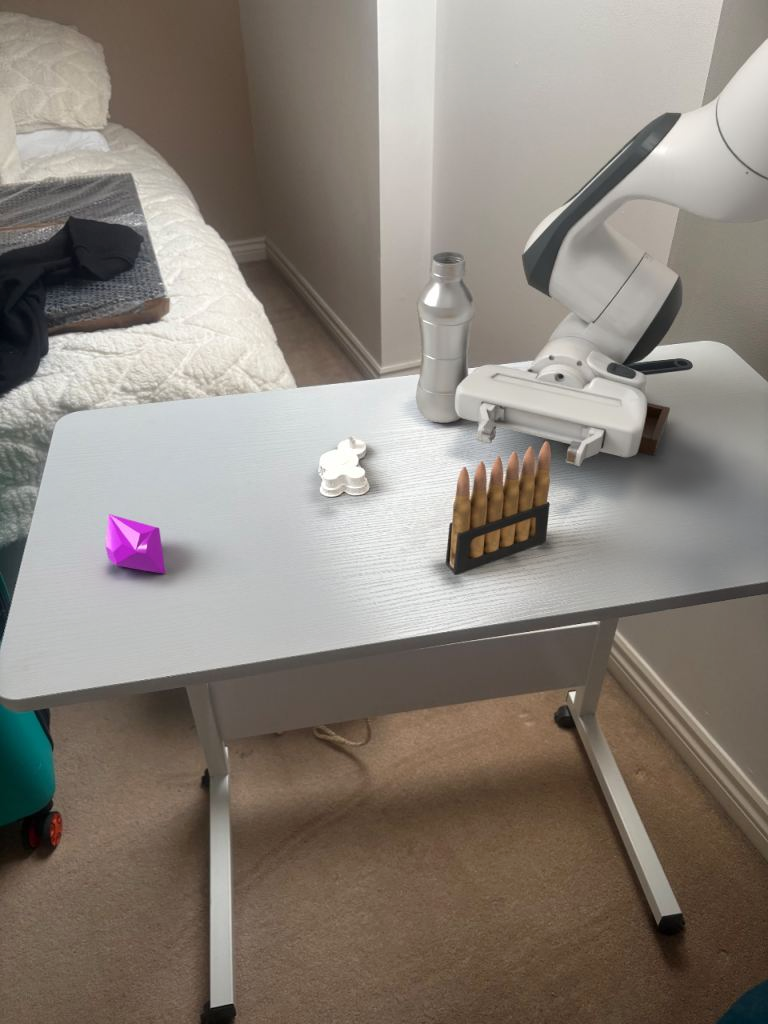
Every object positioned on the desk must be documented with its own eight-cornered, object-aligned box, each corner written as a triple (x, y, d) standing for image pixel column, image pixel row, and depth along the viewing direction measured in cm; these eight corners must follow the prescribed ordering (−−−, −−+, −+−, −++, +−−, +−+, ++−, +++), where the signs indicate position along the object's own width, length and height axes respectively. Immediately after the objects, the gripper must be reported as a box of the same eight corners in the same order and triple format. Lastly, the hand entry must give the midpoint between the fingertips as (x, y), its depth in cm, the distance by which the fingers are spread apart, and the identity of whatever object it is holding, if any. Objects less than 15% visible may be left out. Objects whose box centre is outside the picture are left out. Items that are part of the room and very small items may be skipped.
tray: (666, 422, 100) (670, 407, 99) (654, 455, 95) (657, 440, 94) (549, 396, 105) (551, 381, 104) (531, 426, 100) (533, 411, 99)
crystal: (110, 581, 80) (99, 545, 77) (118, 544, 84) (108, 509, 81) (165, 577, 80) (156, 541, 77) (170, 540, 84) (162, 505, 81)
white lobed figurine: (397, 484, 91) (397, 468, 90) (327, 508, 88) (326, 492, 87) (358, 442, 98) (357, 426, 96) (291, 463, 95) (289, 447, 93)
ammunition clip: (535, 531, 85) (549, 433, 77) (546, 541, 84) (561, 443, 76) (444, 563, 81) (450, 464, 74) (454, 575, 80) (460, 475, 72)
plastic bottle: (471, 429, 99) (482, 270, 87) (415, 429, 100) (418, 270, 87) (468, 401, 104) (478, 246, 92) (414, 401, 105) (417, 246, 92)
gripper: (480, 340, 95) (433, 398, 85) (661, 377, 88) (633, 445, 78) (477, 388, 99) (432, 448, 89) (650, 427, 92) (621, 497, 82)
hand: (527, 447), depth 84 cm, fingers open, 8 cm apart
